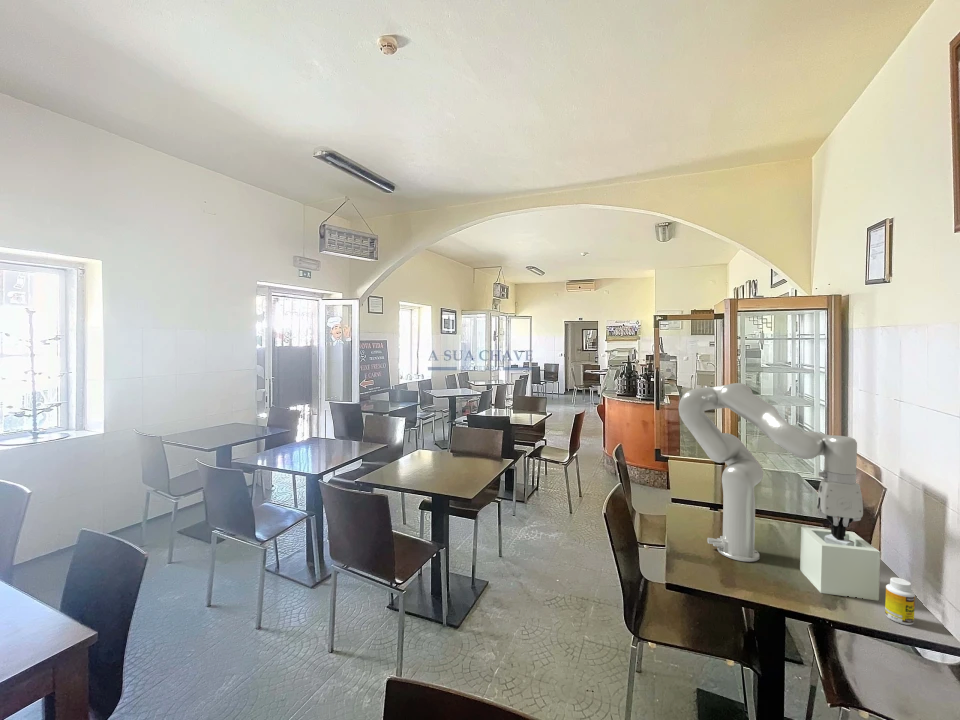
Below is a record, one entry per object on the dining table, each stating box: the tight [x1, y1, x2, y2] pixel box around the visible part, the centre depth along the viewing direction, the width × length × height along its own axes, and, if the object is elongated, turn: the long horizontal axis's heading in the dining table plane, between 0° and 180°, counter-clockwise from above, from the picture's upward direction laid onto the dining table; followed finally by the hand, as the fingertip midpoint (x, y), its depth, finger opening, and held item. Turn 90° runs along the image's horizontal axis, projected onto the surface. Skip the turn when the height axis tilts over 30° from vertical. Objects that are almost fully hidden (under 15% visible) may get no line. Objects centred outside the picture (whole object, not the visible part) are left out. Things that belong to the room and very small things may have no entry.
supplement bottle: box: [884, 577, 916, 626], centre depth 116 cm, size 6×6×10 cm
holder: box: [799, 526, 881, 601], centre depth 133 cm, size 14×14×14 cm
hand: (838, 537), depth 133 cm, fingers closed
